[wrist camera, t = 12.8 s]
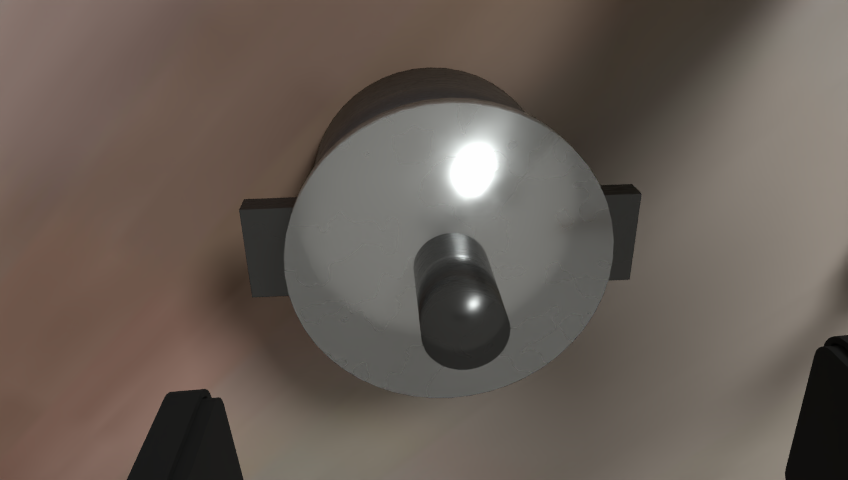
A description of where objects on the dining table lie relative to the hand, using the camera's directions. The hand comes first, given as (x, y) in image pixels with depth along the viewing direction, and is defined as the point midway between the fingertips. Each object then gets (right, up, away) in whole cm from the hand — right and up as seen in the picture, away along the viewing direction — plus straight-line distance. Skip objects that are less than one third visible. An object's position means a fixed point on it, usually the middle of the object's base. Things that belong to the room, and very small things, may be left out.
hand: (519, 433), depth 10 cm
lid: (0, +2, +18) cm, 18 cm away
